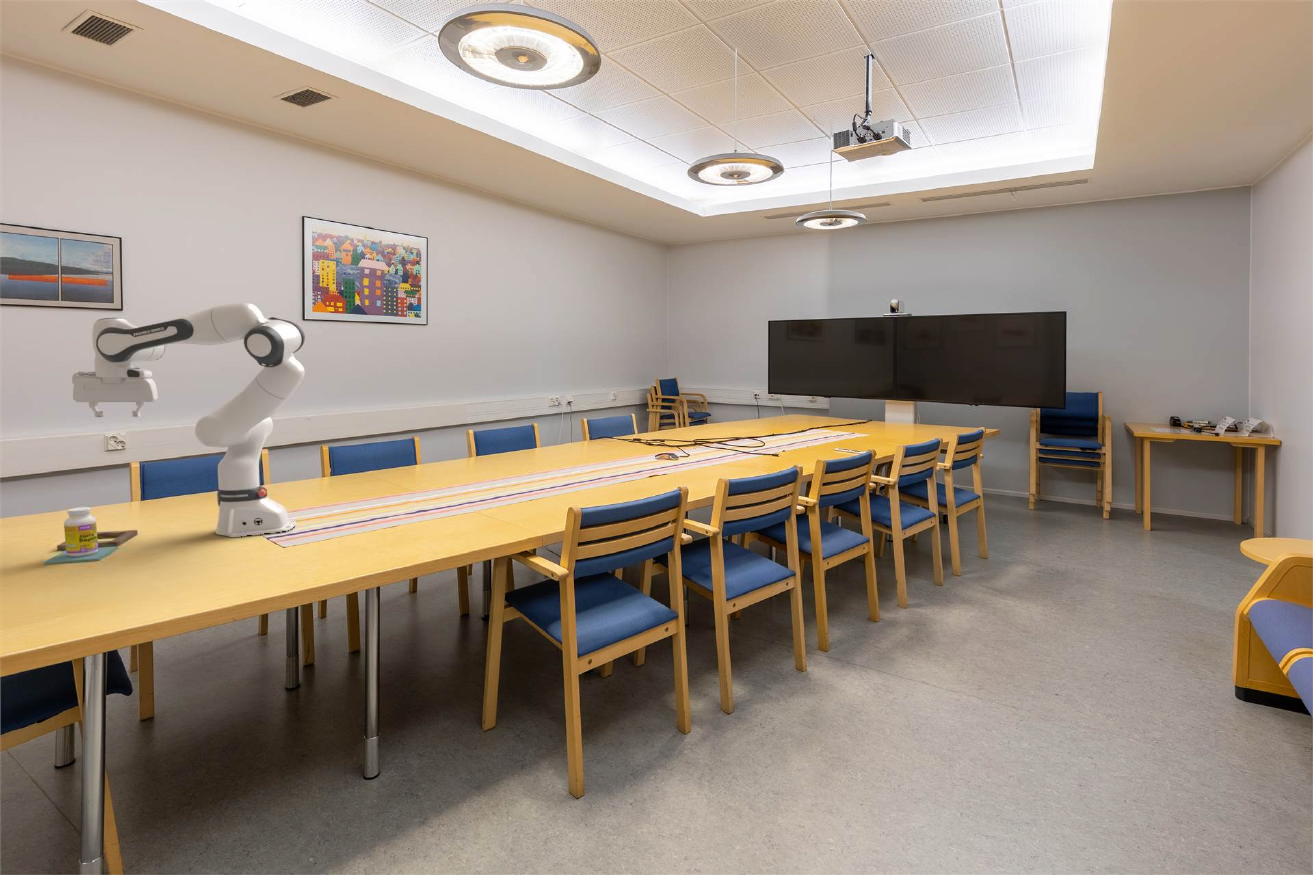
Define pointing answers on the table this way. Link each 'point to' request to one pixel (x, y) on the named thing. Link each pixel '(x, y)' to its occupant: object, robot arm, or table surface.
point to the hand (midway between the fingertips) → (117, 417)
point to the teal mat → (93, 557)
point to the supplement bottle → (80, 533)
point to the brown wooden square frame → (121, 537)
